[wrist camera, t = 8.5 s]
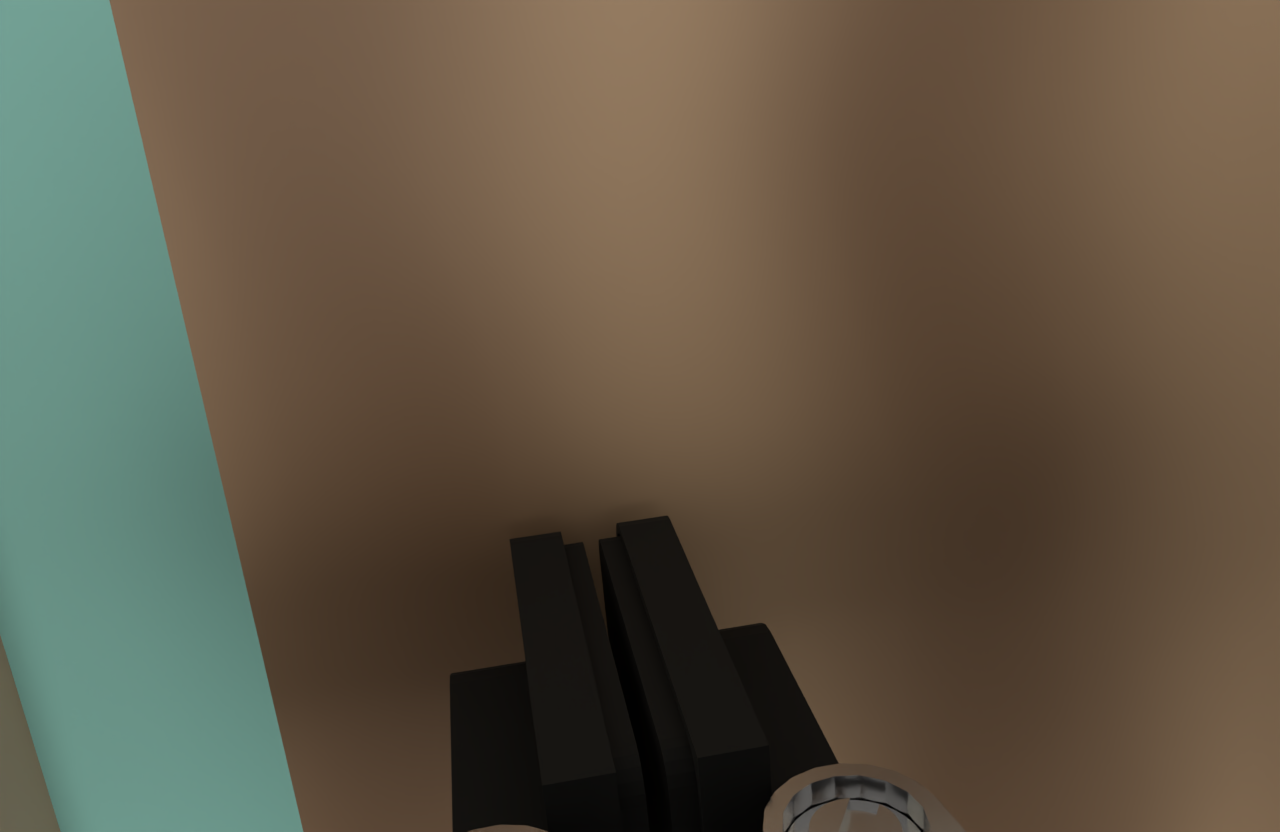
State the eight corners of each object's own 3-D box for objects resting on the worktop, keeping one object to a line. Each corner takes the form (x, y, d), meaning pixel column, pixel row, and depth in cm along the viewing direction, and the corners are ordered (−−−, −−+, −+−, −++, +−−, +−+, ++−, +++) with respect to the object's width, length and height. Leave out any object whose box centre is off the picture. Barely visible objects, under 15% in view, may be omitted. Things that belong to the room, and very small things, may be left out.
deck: (1442, -138, 15) (1770, -178, 11) (1302, 736, 20) (1497, 905, 17) (191, -38, 13) (98, -45, 9) (387, 911, 18) (378, 1148, 14)
